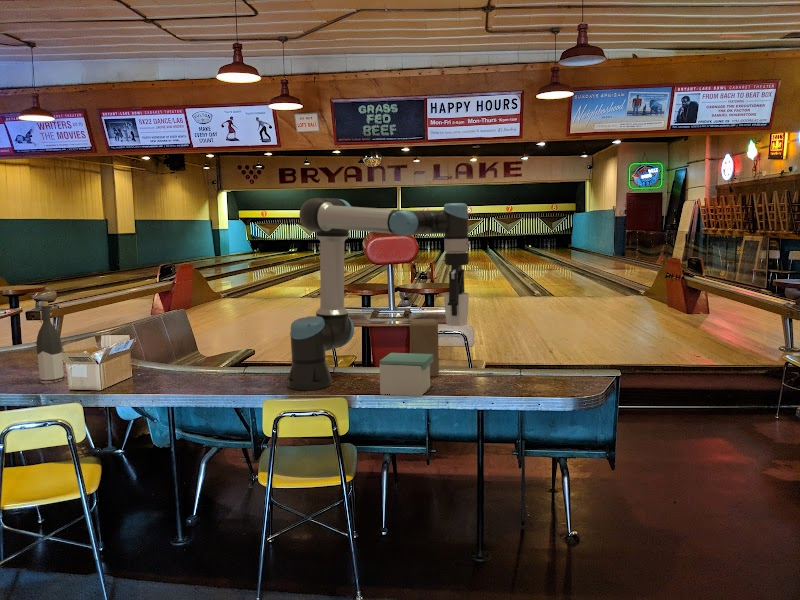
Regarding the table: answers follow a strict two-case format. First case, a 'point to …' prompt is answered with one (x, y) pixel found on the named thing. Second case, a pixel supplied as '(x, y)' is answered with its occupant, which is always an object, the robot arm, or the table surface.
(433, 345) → the block
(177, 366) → the table surface
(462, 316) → the white cup
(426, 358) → the lid
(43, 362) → the wine bottle
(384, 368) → the box
